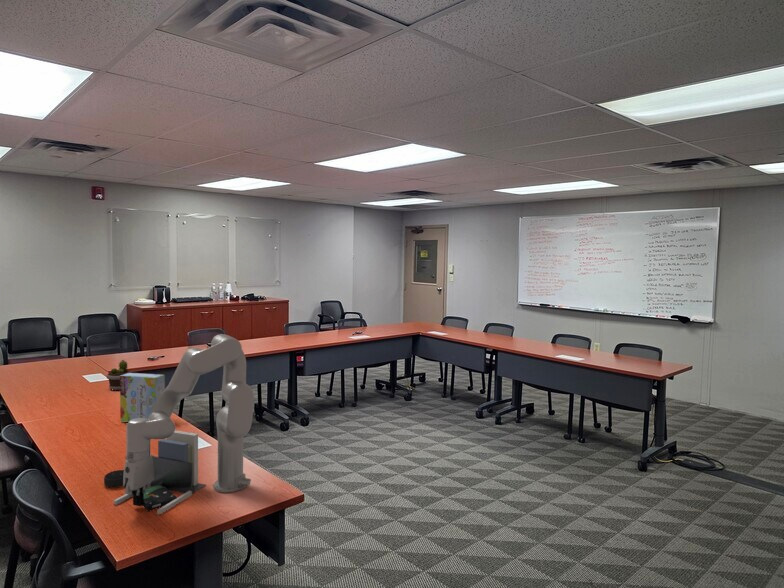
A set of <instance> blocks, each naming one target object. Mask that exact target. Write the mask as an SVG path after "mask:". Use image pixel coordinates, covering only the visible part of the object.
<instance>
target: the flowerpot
mask: <svg viewBox="0 0 784 588" xmlns="http://www.w3.org/2000/svg"><path fill="white" fill-rule="evenodd" d="M117 364H118V366H117V367H118V368H115V367H114V368H111V369H110V371H109V372H108V373H107V374H106V379H107V380H108V383H109V385H108V387H109V389H110V390H111V389H113V390H117V391H119V390H120V375H124V374H127V373H132V372H131V370H128V368H129V366H128V362H127V361H126V360H125V359H124V358H123V359H121V360H120V361H119V362H118V363H117Z"/></svg>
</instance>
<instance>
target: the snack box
mask: <svg viewBox="0 0 784 588" xmlns="http://www.w3.org/2000/svg"><path fill="white" fill-rule="evenodd" d="M165 377H166V375H165V374H159V373H157V374H155V373H140V372H139V373H138V372H131V373H127V374H124V375H120V391H119V399H120V400H119V402H120V403H119V404H120V407H119V410H120V414H119V415H120V419H119V421H121V422H128V421H130V420H132V419H135V418H147V419H148V417H149V415H150V412H151V410H152V408H153V406H154V404H155V402H156V401H157V399H158V398H159V396H160V395H161V394H162V392H163V391H164V390H165V388H166V387H165V386H166V381H165V380H166V379H165Z"/></svg>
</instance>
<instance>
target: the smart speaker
mask: <svg viewBox="0 0 784 588" xmlns="http://www.w3.org/2000/svg"><path fill="white" fill-rule="evenodd" d="M123 474H124V469H118V470H117V469H116V470H113V471H110V472H108V473H107V474H105V475H104V477H103V482H104V483H103V484H104V486H105V487H106V488H111V489H112V488H121V487H124V486H123Z"/></svg>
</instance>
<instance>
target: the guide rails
mask: <svg viewBox="0 0 784 588" xmlns="http://www.w3.org/2000/svg"><path fill="white" fill-rule="evenodd" d="M148 487H151V483H149V484H148V485H147V487H146V489H147V488H148ZM192 495H193V494H192V491H188V492H186V493H182V494H181V495H180V496H178V497H177V498H176V499H175V500H173V501H171V502H170V503H168V504H166V505H165V506H163V507H161V508H158V509H157V515H159V514H161V513H162V514H164V513H166V512H167V511H169V510H170V509H172V508H173V507H175V506H176V504H177V505H178V504H180V503H182V502H183V501H184V499H185V500H187V499H188V498H189V497H191V496H192ZM130 498H133V495H132V494H125V493H124V494H123V495H122V496H119V497H118V498H116V499H113V505H114V504H115V505H114V506H118V505H119V504H121V503H123V502H125V501H126V499H127V500H128V499H130ZM179 502H180V503H179ZM171 507H172V508H171ZM168 509H169V510H168ZM166 510H167V511H166ZM163 512H164V513H163ZM162 514H161V515H162Z"/></svg>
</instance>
